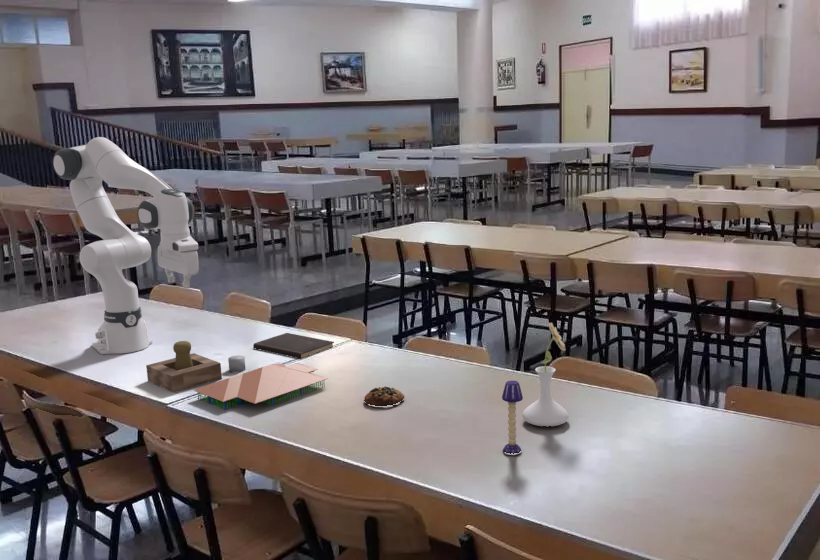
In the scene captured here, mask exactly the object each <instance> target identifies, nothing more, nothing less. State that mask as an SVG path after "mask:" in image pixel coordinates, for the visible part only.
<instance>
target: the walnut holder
mask: <svg viewBox="0 0 820 560" xmlns="http://www.w3.org/2000/svg"><path fill="white" fill-rule="evenodd" d="M190 355H191V359H192V363H193V367H189V368H186V369H182V370H178V371H176V370H175V362H176V357H173V358H170V359H166V360H162V361H159V362H158V361H157V362H154V363H149V364H146V375H147V376H146V377H147V382H149V381H150V383H151V382H152V384H153V383H154V384H153V385H156V386H158V387H160V386H161V387H160V388H162V387H163V389H164V388H165V389H164V390H167V391H169V392H171V393H173V392H174V393H177V392H180V391H184V390H187V389H190V388H194V387H197V386H201V385H205V384H209V383H212V382H217V381H220V380H223V376H222V375H223V374H222V365H221V362H219V361H216V360H213V359H210V358H208V357H205V356H202V355H199V354H197V353H195V352H194V353H190Z"/></svg>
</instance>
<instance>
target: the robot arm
mask: <svg viewBox="0 0 820 560" xmlns="http://www.w3.org/2000/svg"><path fill="white" fill-rule="evenodd" d="M52 164H53V165H52V166H53V170H54V172H55V174H56V175H57V176H58V177H59V178H60V179H62V180H67V181H70V182H69V189H70V194H71V198H72V201H73V204H74V207H75V209H76V211H77V214H78V215H79V217H80V219H81V222H82V224H83V226H84V228H85V230H86V231H88V232H89V233H91V234H92V235H95V236H98V237H99V238H101V239H102V240H96V241H92V242H91V243H88V244H86V245H84V246H83V247H82V248H81V250H80V251H79V262H80V264H81V267H82V269H84V271H86V272H87V273H89V274H91V275H92V276H93V277H94V278H95V279H96V280H97V282H98V283H99V285H100V287H101V290H102V294H103V301H104V307H105V308H104V309H105V310H104V314H103V317H104V318H103V320H104V321H103V323H102V324H101V325H100V326H99V328H98V329H97V331H96V332H95V334H94V335H95V339H97V340H95V341H93V342H92V343H91V346H92V347H93V348H94V349H95V350H96V351H97V352H98V354H100V355H109V354H111V355H112V354H128V353H133V352H138V351H142V350H144V349H146V348H148V347H149V345H151V344H153V339H152V338H149V332H148V327H147V323H146V321H145V320H144V319H142V317H143V316H142V309H141V306H140V301H139V292H138V291H139V290H138V286H137V285H136V284H135V283H134V282H133V281H131V280H129V279H126V277H125V276H124V274H123V270H124V269H125V270H126V269H129V268H134V267H137V266H140V265H142V264H144V263H146V262H149V259H150V258H151V255H152V246H151V244H150V242H149V241H148V239H147V238H145V237H144V236H143V235H140V234H138V233H136V232H135V231H133V230H131V229H130V228H129V227H128V226H127V225H126V224H125V223H124V222H123V221H122V220H121V218H120V217H119V216H118V214H117V212H116V210H115V208H114V207H113V205H112V203H111V200H110V198H109V196H108V194H107V192H106V191H105V188H104V186H103V182H105V184H107V185H109V186H110V187H113V188H116V189H122V190H137V191H142V192H146V193H148V194H149V195H150V196H152V197H151V198H149V199H148V198H147V199H145V200H142V201H141V202H140V203H139V206H137V215H136V216H137V220H138V222H139V223H140V225H141V226H142V227H143V228H145V229H147V230H160V232H159V233H160V241H159V245H158V246H157V265H158V267H160V268H162V269H164V272H165V274H166V277H167V282H168V283H169V284H172V283H176V277H175V275H174V273H178V274H181V275H182V277H183V281H182V282H181V286H182V288H184V289H189V288H190V286H191V283H190V282H191V279H192V276H195V275H198V274H199V269H200V268H199V267H200V265H199V255H198V254H199V253H198V251H197V250H199V243H198V242H197V241H196V240H195V239H194V238H193V237H192V235H191V231H190V228H189V224H190V223H191V222H192V220H193V218H194V216H195V206H194V204H193V202H192V201H191V200H190V198H189V197H187V196H186V194H185V192H184V191H182V190H180V189H174V188H172V187H171V186H170V185H169V184H168V183H166V181H164V180H163V179H162V178H161V177H159V176H158V175H157V174H156V173H155V172H153V171H151V170H150V169H148V168H146V167H144V166H142V165H140V163H137V162H136V161H135V160H133V159H132V158H130V157H129V156H128V155H127V154H126V153H125V152H124V151H123V150H122V148H120V147H119V146H118V145H117V144H115V143H114V142H113V141H111V140H110V139H108V138H107V137H103V136H97V137H94V138H92V139H90V140H89V141H88V142H87V143H86V144H82V145H78V146H77V145H76V146H72V147H65V148H61V149H58V151H57V150H56V152H55V153H54V156H53V157H52Z"/></svg>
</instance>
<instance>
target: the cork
mask: <svg viewBox="0 0 820 560" xmlns="http://www.w3.org/2000/svg"><path fill="white" fill-rule="evenodd" d="M172 347H173V352H174V353H175V358H176V362H175V370H176V371H178V370H182V369H186V368H189V367H193V363H192V359H191V355H190V354H191V350H192V344H191V342H190V341H187V340H180V341H177V342H175V343H174V344H173V346H172Z"/></svg>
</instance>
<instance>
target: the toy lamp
mask: <svg viewBox="0 0 820 560" xmlns="http://www.w3.org/2000/svg"><path fill="white" fill-rule="evenodd" d="M501 399H502V401H504V402H507V404H508V406H507V411H508V415H507V416H508V417H507V418H508V419H507V422H508V423H507V424H508V427H507V429H508V443H507V444H505V445H504V446H503V450H502V452H503V451H504V452H506V453H510V454H511V453H513V454H514V453H519V452H520V451H522V448H521V446H520V445H519V444H517V432H516V430H517V426H516V425H517V420H516V418H517V413H516V411H517V408H516V406H517V403H519V402H521V401H523V392H522V390H521V385H520V382H519V381H517V380H507V381H506V382H505V384H504V387H503V392H502V395H501Z"/></svg>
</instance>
